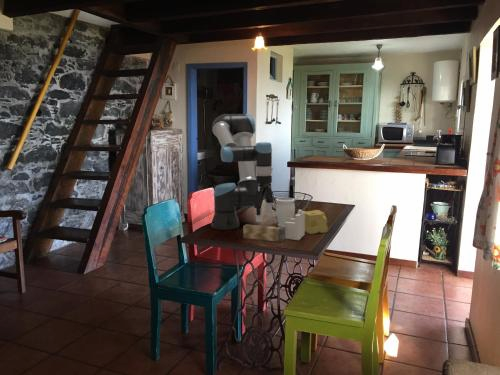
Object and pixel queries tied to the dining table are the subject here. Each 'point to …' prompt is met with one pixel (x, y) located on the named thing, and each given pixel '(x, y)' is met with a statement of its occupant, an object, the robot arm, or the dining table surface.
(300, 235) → the white u-channel bracket
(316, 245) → the dining table surface
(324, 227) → the cheese
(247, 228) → the rail
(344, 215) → the dining table surface
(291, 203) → the white cup
